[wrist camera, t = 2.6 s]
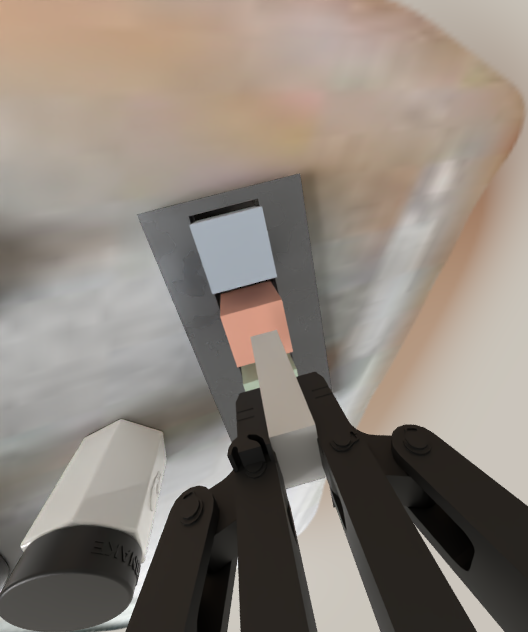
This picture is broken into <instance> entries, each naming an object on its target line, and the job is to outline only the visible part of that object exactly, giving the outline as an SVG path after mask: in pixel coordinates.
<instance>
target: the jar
mask: <svg viewBox="0 0 528 632" xmlns="http://www.w3.org/2000/svg"><path fill="white" fill-rule="evenodd" d="M166 462H167V458H166V451H165V444H164V436H163V432H162V431H159V430H156V429H153V428H149V427H146V426H143V425H140V424H136V423H133V422H130V421H127V420H124V419H120V420H118V421H116V422H114V423H112V424H110V425H108V426H106V427H104V428H102V429H100V430H99V431H97V432H95V433H93V434H91V435H89V436H87V437H85V438H84V439H83V441H82V443H81V444H80V446H79V448H78V449H77V451H76V453H75V454H74V456H73V458H72V459H71V461H70V463H69V464H68V466H67V468H66V469H65V471H64V473H63V474H62V476H61V478H60V479H59V481H58V483H57V484H56V486H55V488H54V489H53V491H52V493H51V494H50V496H49V498H48V499H47V501H46V503H45V504H44V506H43V508H42V509H41V511H40V513H39V514H38V516H37V518H36V519H35V521H34V523H33V524H32V526H31V528H30V530H29V531H28V533H27V535H26V536H25V538H24V540H23V541H22V543H21V545H20V548H21V549H22V551H23V554H22V556H21V558H20V559H19V561H18V563H17V565H16V566H15V568H14V570H13V572H12V573H11V575H10V577H9V579H8V580H7V582H6V584H5V586H4V587H3V589H2V591H1V592H0V616H1V617H2V618H3V619H4V620H5V621H7V622H8V623H10V624H12V625H14V626H17V627H20V628H23V629H28V630H33V631H42V632H64V631H74V630H80V629H85V628H89V627H93V626H96V625H99V624H102V623H104V622H107V621H109V620H111V619H113V618H115V617H116V616H118V615H119V614H121V613H122V612H123V611H124V610H125V609H126V608H127V607H128V606H129V604H130V603H131V600H132V598H133V594H134V590H135V586H136V585H137V581H138V577H139V573H140V567H141V565H140V564H141V563H143V562H144V561H145V557H146V553H147V548H148V544H149V539H150V535H151V530H152V526H153V521H154V517H155V512H156V507H157V503H158V498H159V494H160V489H161V485H162V480H163V476H164V471H165V467H166Z"/></svg>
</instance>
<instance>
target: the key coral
mask: <svg viewBox="0 0 528 632" xmlns="http://www.w3.org/2000/svg"><path fill="white" fill-rule="evenodd" d="M220 318H221V321H222V324H223V327H224V330H225V333H226V335H227V338H228V341H229V344H230V347H231V350H232V353H233V356H234V359H235V362H236V365H237V368H238V367H241V366H245V365H248V364H252V363H255V359H254V354H253V348H252V343H251V338H250V337H252V336H256V335H259V334H263V333H267V332H270V331H274V330H277V332H278V334H279V337H280V339H281V342H282V344H283V346H284V349H285V351H286V354H287V353H290V352H293V349H292V344H291V340H290V335H289V330H288V326H287V321H286V316H285V312H284V307H283V302H282V299H281V297H280V296H279V294H278V293H277V291H276V289H275V288H274V286H273V285H272V283H271V281H270V280H269V281H266V282H262V283H258V284H254V285H251V286H247V287H243V288H240V289H236V290H232V291H228V292H225V293H221V299H220Z"/></svg>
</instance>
